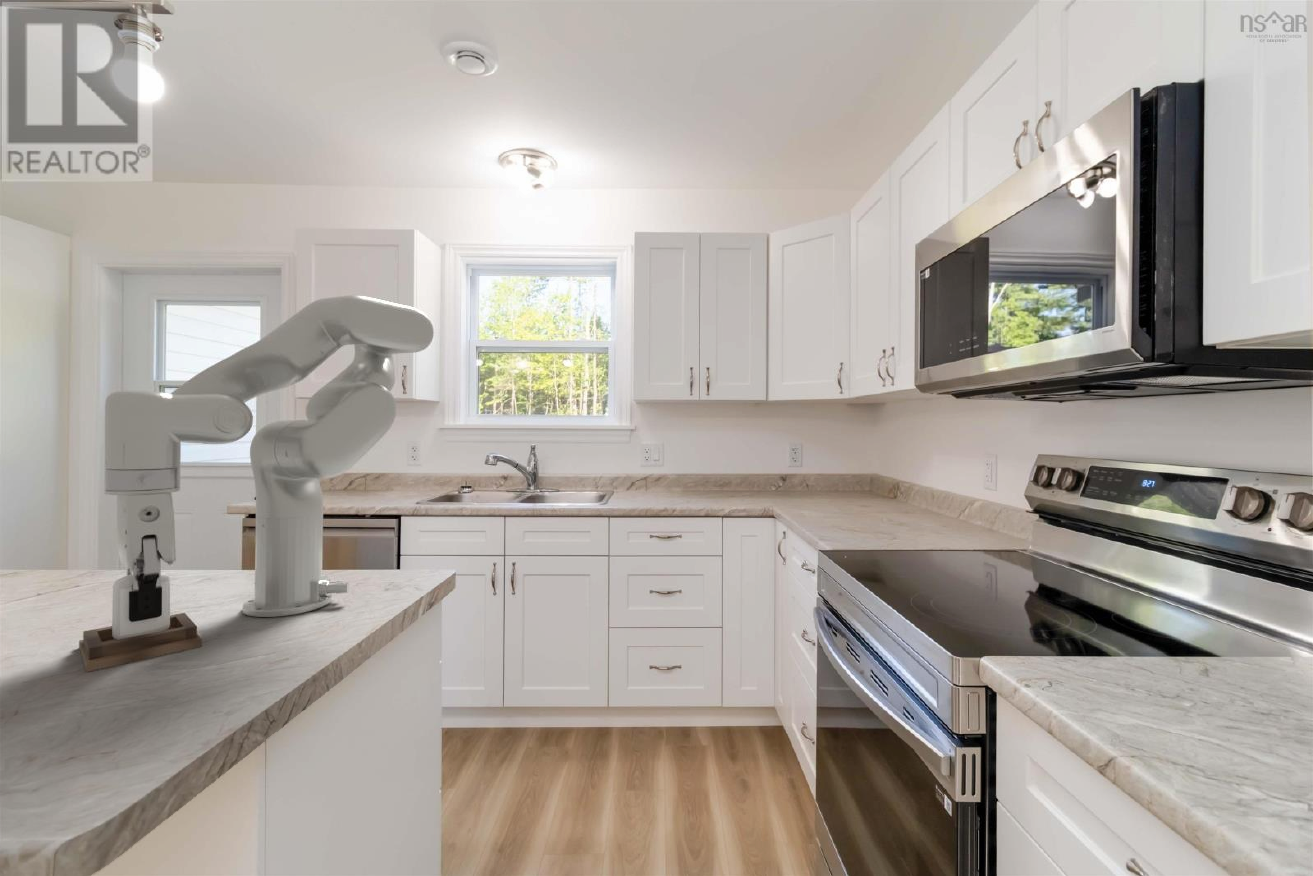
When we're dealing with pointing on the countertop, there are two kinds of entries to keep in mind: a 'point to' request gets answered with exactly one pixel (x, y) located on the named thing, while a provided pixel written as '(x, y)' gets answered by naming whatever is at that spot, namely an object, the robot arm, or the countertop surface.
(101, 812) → the countertop surface
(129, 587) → the eye dropper bottle
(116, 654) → the pocket plate
